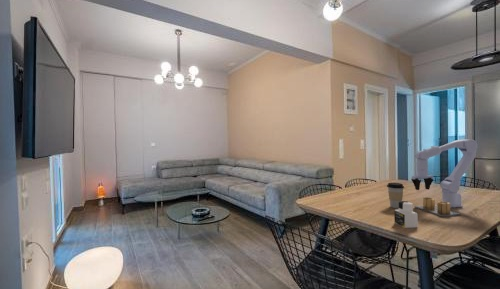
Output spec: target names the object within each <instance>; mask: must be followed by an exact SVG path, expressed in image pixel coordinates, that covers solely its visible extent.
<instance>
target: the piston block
mask: <svg viewBox="0 0 500 289" xmlns="http://www.w3.org/2000/svg"><path fill="white" fill-rule="evenodd" d="M436 203H437V204H436V205H437V206H436V205H435V209H428V208H424V207H423V205H413V209H418V210H420V211H423V212H425V213H429V214H432V215H435V216H438V217H441V218H446V217H447V218H448V217H459V216H461V214H462V213H459V212H456V211H452V210H451V207H450V203H448V202H443V201H441V200H439V201H437V202H436Z"/></svg>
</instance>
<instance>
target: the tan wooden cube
mask: <svg viewBox="0 0 500 289" xmlns="http://www.w3.org/2000/svg"><path fill="white" fill-rule="evenodd" d="M435 201H436V199H435V198H433V197H426V196H425V197H422V206H423V207H424V208H428V209H435V206H436V202H435Z"/></svg>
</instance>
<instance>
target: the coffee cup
mask: <svg viewBox="0 0 500 289" xmlns="http://www.w3.org/2000/svg"><path fill="white" fill-rule="evenodd" d="M386 187H387V188H388V199H389V206H390V208H393V209H399V202H400V201H403V195H404V188H405V185H404V184H403V183H399V182H389V183H387V184H386Z"/></svg>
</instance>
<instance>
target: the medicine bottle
mask: <svg viewBox="0 0 500 289" xmlns="http://www.w3.org/2000/svg"><path fill="white" fill-rule="evenodd" d="M418 215H419V214H418V213H417V212H415V211H414V204H413V202H411V201H408V200H407V201H406V200H402V201H400V202H399V208H398V209H394V218H393V219H394V224H396V225H398V226H400V227H402V228H403V229H411V228H413V229H414V228H418V225H419V224H418Z"/></svg>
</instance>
